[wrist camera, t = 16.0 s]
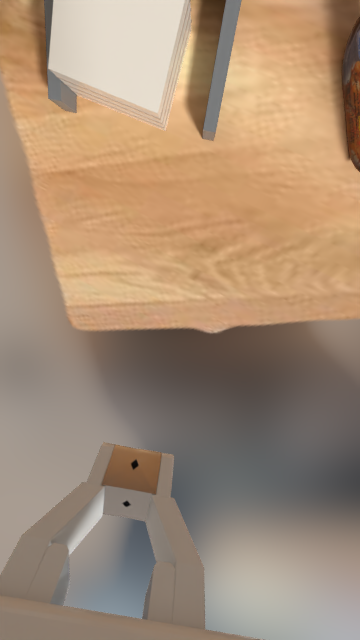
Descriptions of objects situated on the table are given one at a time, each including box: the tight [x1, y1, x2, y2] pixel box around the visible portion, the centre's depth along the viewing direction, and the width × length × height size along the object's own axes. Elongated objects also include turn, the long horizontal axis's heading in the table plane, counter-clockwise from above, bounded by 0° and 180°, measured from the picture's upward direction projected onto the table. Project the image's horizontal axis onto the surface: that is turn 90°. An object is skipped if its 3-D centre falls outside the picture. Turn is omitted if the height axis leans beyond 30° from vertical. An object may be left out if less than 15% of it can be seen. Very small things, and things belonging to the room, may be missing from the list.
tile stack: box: [48, 0, 191, 131], centre depth 27 cm, size 12×10×7 cm
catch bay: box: [44, 0, 241, 141], centre depth 27 cm, size 20×14×5 cm
